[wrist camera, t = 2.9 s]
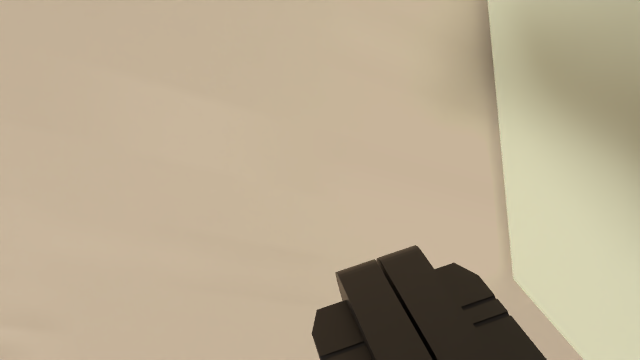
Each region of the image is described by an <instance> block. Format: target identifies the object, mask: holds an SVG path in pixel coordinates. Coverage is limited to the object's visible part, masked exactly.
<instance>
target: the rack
mask: <svg viewBox="0 0 640 360" xmlns="http://www.w3.org/2000/svg"><path fill="white" fill-rule="evenodd" d="M487 1H488V11H489V22H490V33H491V44H492V55H493V65H494V76H495V87H496V98H497V109H498V119H499V130H500V141H501V152H502V163H503V173H504V184H505V195H506V206H507V217H508V227H509V238H510V249H511V260H512V271H513V279H514V280H515V281H516V283H517V284H518V285H519V286H520V287H521V288H522V289H523V291H524V292H525V293H526V294H527V295H528V296H529V298H530V299H531V300H532V301H533V302H534V303H535V304H536V306H537V307H538V308H539V309H540V310H541V311H542V312H543V314H544V315H545V316H546V317H547V318H548V319H549V320H550V322H551V323H552V324H553V325H554V326H555V327H556V329H557V330H558V331H559V332H560V333H561V334H562V335H563V337H564V338H565V339H566V340H567V341H568V342H569V343H570V345H571V346H572V347H573V348H574V349H575V350H576V351H577V353H578V354H579V355H580V356H581V357H582V358H583V360H640V0H487Z"/></svg>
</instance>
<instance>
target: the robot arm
mask: <svg viewBox="0 0 640 360" xmlns="http://www.w3.org/2000/svg"><path fill="white" fill-rule="evenodd" d="M336 278H337V282H338V286H339V290H340V293H341V297H342V302H339V303H336V304H333V305H330V306H327V307H324V308H321V309H318V310H317V312H316V317H315V321H314V326H313V331H312V336H313V339H314V342H315V345H316V348H317V351H318V355H319V358H320V360H547V359H546V358H545V357H544V356H543V354H542V353H541V352H540V351H539V350H538V348H537V347H536V346H535V345H534V343H533V342H532V341H531V340H530V338H529V337H528V336H527V335H526V333H525V332H524V331H523V330H522V329H521V327H520V326H519V325H518V324H517V322H516V321H515V320H514V319H513V317H512V316H509V314H508V311H507V310H506V309H505V308H504V306H503V305H502V304H501V303H500V301H499V300H498V299H496V298H495V296H494V294H493V293H492V291H491V290H490V289H489V288H488V287H487V285H486V284H485V283H484V282H483V280H482V279H481V278H480V277H479V276H478V275H477V274H475V273H473V272H471V271H469V270H467V269H465V268H463V267H461V266H459V265H457V264H456V263H452V264H449V265H446V266H443V267H440V268H437V269H434V268H433V267H432V265H431V264H430V263H429V261H428V260H427V258H426V257H425V256H424V254H423V253H422V251H421V250H420V249H419V247H418V246H416V245H415V246H412V247H409V248H406V249H403V250H400V251H397V252H394V253H391V254H388V255H385V256H382V257H379V258H377V262H376V260H375V259H374V260H371V261H368V262H365V263H362V264H359V265H356V266H353V267H350V268H347V269H344V270H341V271H338V272H336Z"/></svg>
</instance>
